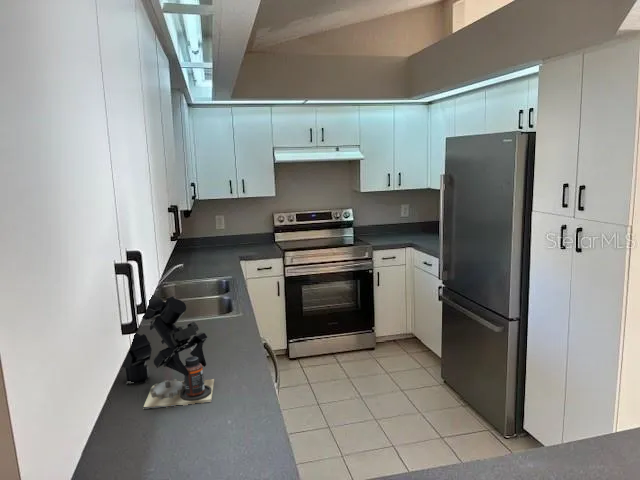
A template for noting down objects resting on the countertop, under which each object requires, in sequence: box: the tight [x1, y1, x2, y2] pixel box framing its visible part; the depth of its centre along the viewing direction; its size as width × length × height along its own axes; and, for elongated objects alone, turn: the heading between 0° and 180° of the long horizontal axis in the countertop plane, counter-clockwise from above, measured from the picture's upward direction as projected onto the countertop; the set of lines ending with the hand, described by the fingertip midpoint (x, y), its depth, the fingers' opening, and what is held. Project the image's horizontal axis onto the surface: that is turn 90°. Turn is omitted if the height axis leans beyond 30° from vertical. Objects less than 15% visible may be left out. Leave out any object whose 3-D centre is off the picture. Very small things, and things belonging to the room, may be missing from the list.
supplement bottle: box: [183, 356, 205, 396], centre depth 151 cm, size 6×6×11 cm
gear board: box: [143, 378, 215, 407], centre depth 153 cm, size 20×14×4 cm
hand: (197, 370), depth 150 cm, fingers open, 7 cm apart
